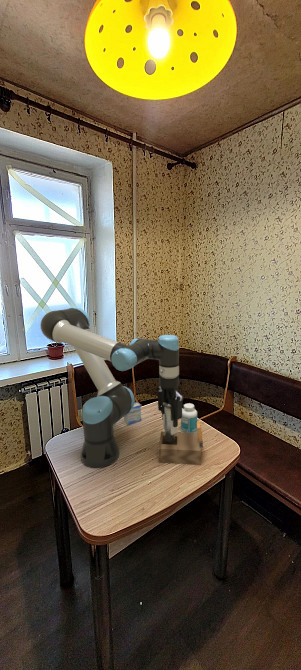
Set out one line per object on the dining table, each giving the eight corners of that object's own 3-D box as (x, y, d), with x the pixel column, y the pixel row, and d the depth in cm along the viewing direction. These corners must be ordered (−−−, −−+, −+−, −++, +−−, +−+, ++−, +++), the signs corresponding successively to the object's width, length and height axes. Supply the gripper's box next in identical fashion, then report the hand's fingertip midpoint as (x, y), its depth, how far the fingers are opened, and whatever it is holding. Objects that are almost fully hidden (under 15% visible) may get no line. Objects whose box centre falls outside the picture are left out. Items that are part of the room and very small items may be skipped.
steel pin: (163, 442, 107) (162, 405, 104) (164, 435, 112) (163, 399, 109) (176, 443, 106) (176, 405, 103) (176, 435, 111) (176, 399, 108)
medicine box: (127, 425, 132) (127, 409, 131) (123, 421, 136) (122, 405, 134) (141, 420, 137) (141, 404, 135) (137, 417, 140) (136, 401, 138)
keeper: (199, 436, 109) (202, 435, 109) (199, 441, 106) (202, 441, 105) (196, 422, 108) (199, 422, 108) (197, 427, 105) (200, 427, 104)
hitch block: (158, 462, 105) (158, 444, 104) (161, 444, 117) (161, 427, 115) (202, 465, 103) (203, 446, 101) (201, 446, 115) (201, 429, 113)
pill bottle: (196, 428, 128) (196, 402, 126) (197, 437, 121) (198, 409, 118) (180, 428, 129) (180, 401, 126) (180, 436, 122) (180, 409, 119)
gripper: (147, 372, 108) (149, 425, 113) (177, 384, 95) (177, 444, 100) (162, 368, 113) (163, 419, 117) (192, 378, 99) (192, 436, 104)
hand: (169, 430), depth 108 cm, fingers closed on steel pin, 4 cm apart
